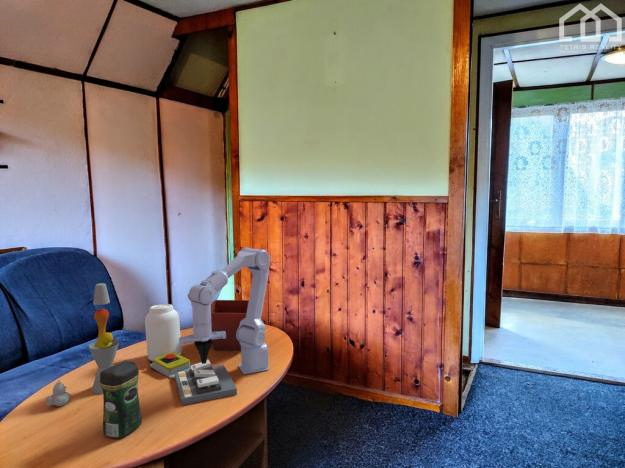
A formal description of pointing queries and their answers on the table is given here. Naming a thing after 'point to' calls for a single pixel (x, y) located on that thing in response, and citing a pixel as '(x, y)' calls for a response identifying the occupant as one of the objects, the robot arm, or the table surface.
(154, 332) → the white jar
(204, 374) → the rocker
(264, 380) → the table surface
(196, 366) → the rocker
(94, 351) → the lava lamp
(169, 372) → the emergency button
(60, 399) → the rubber duck
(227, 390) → the panel
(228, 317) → the plant pot
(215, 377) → the rocker
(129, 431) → the coffee jar
